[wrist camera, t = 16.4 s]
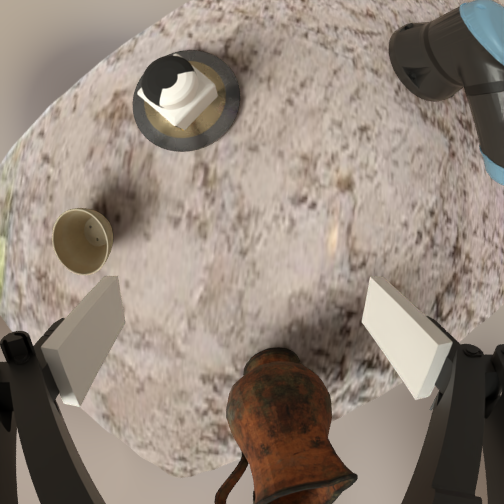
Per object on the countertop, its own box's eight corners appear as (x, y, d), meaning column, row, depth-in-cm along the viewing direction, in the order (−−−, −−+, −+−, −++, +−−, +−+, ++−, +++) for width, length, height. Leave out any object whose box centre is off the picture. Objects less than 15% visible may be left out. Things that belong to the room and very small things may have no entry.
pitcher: (329, 370, 56) (379, 494, 27) (243, 416, 59) (252, 538, 30) (285, 316, 51) (330, 462, 23) (192, 372, 54) (174, 511, 26)
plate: (241, 51, 38) (241, 48, 36) (238, 151, 43) (238, 151, 41) (138, 57, 37) (135, 54, 35) (133, 154, 42) (130, 154, 40)
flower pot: (80, 192, 43) (58, 199, 36) (132, 213, 44) (115, 223, 38) (68, 247, 45) (47, 260, 38) (116, 268, 47) (100, 285, 40)
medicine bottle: (150, 102, 38) (122, 84, 27) (184, 67, 37) (167, 37, 25) (184, 131, 40) (166, 122, 28) (219, 96, 39) (213, 74, 27)
